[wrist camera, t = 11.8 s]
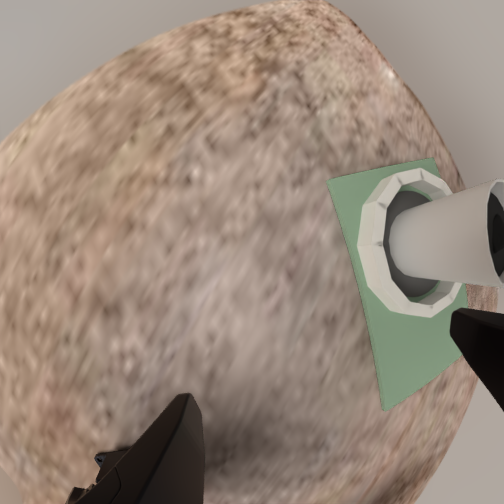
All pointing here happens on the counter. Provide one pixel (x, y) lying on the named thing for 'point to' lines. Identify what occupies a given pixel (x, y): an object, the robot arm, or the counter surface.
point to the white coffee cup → (454, 237)
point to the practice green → (397, 277)
